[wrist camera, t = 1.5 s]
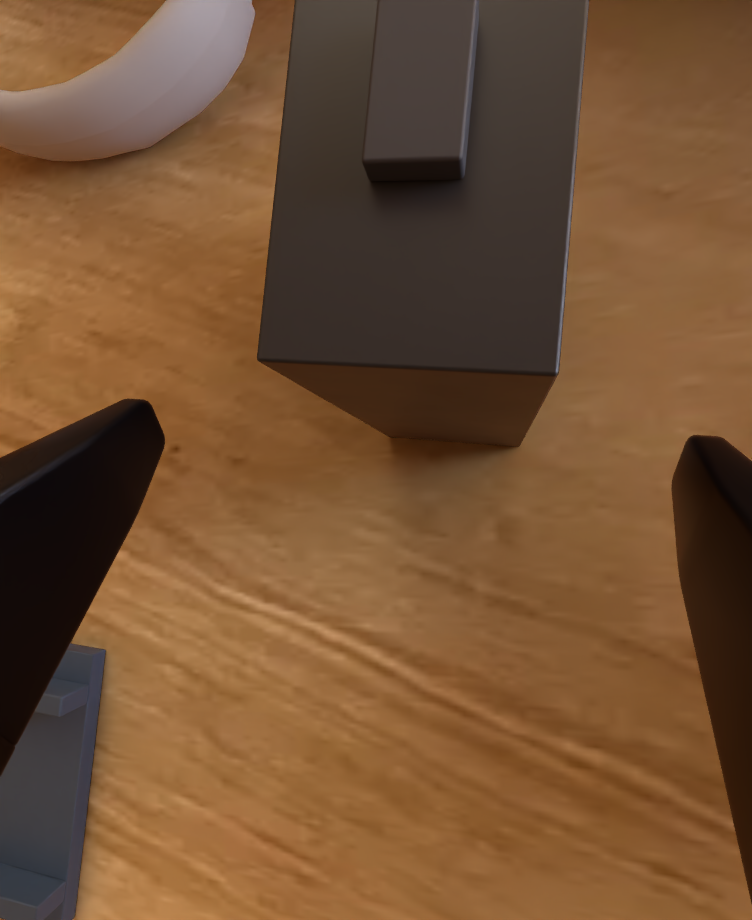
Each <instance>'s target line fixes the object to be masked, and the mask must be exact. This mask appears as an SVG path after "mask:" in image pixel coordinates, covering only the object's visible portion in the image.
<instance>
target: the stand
mask: <svg viewBox="0 0 752 920" xmlns="http://www.w3.org/2000/svg"><path fill="white" fill-rule="evenodd" d="M105 652H106V650H104V649H98V648H93V647H87V646H82V645H76V644H70V645H69V647H68V649H67V650H66V652H65V654H64V656H63V658H62V660H61V662H60V664H59V666H58V668H57V669H56V671H55V673H54V675H53V677H52V679H51V681H50V683H49V685H48V687H47V689H46V690H45V692H44V694H43V696H42V698H41V700H40V702H39V704H38V706H37V708H36V709H35V711H34V713H33V715H32V717H31V719H30V721H29V723H28V725H27V727H26V728H25V730H24V732H23V734H22V736H21V738H20V740H19V742H18V744H17V745H14V746H15V750H14V752H13V754H12V756H11V758H10V760H9V762H8V763H7V765H6V767H5V769H4V771H3V773H2V775H1V777H0V918H1V919H5V920H72V919H73V918H74V917H75V910H76V902H77V893H78V885H79V876H80V867H81V859H82V850H83V842H84V833H85V824H86V816H87V807H88V798H89V790H90V781H91V773H92V764H93V755H94V747H95V738H96V730H97V721H98V712H99V704H100V695H101V687H102V678H103V669H104V661H105Z"/></svg>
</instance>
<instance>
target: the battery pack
mask: <svg viewBox="0 0 752 920" xmlns="http://www.w3.org/2000/svg"><path fill="white" fill-rule="evenodd" d="M588 9H589V0H295V5H294V14H293V24H292V33H291V43H290V52H289V61H288V71H287V80H286V89H285V99H284V108H283V118H282V127H281V136H280V146H279V155H278V165H277V174H276V183H275V193H274V202H273V212H272V221H271V230H270V240H269V249H268V259H267V268H266V277H265V287H264V296H263V306H262V315H261V324H260V334H259V343H258V353H257V360H258V361H259V362H261V363H262V364H264V365H266V366H267V367H269V368H271V369H273V370H274V371H276V372H278V373H280V374H281V375H283V376H285V377H287V378H288V379H290V380H292V381H293V382H295V383H297V384H299V385H300V386H302V387H304V388H306V389H307V390H309V391H311V392H313V393H314V394H316V395H318V396H319V397H321V398H323V399H325V400H326V401H328V402H330V403H332V404H333V405H335V406H337V407H339V408H340V409H342V410H344V411H345V412H347V413H349V414H351V415H352V416H354V417H356V418H358V419H359V420H361V421H363V422H364V423H366V424H368V425H370V426H371V427H373V428H375V429H377V430H378V431H380V432H382V433H384V434H385V435H387V436H389V437H398V438H411V439H424V440H437V441H450V442H463V443H476V444H489V445H502V446H515V447H519V446H520V445H521V443H522V441H523V439H524V437H525V435H526V433H527V431H528V430H529V428H530V426H531V424H532V422H533V420H534V418H535V416H536V415H537V413H538V411H539V409H540V407H541V405H542V403H543V401H544V400H545V398H546V396H547V394H548V392H549V390H550V388H551V387H552V385H553V383H554V381H555V379H556V377H557V375H558V373H559V366H560V353H561V341H562V329H563V316H564V304H565V292H566V279H567V267H568V255H569V243H570V230H571V218H572V206H573V193H574V181H575V169H576V157H577V144H578V132H579V120H580V107H581V95H582V83H583V70H584V58H585V46H586V34H587V21H588Z"/></svg>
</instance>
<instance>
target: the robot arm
mask: <svg viewBox="0 0 752 920" xmlns="http://www.w3.org/2000/svg"><path fill="white" fill-rule="evenodd" d="M164 445H165V437H164V433H163V431H162V428H161V426H160V424H159V421H158V419H157V417H156V414H155V412H154V409H153V407H152V405H151V404H150V403H149V402H148V401H146V400H141V399H123V400H121V401H119V402H117V403H115V404H113V405H111V406H108V407H106V408H104V409H102V410H100V411H98V412H96V413H94V414H92V415H89V416H87V417H85V418H83V419H81V420H79V421H77V422H75V423H73V424H71V425H68V426H66V427H64V428H62V429H60V430H58V431H56V432H54V433H52V434H49V435H47V436H45V437H43V438H41V439H39V440H37V441H35V442H33V443H31V444H28V445H26V446H24V447H22V448H20V449H18V450H16V451H14V452H12V453H9V454H7V455H5V456H3V457H1V458H0V777H1V775H2V773H3V771H4V769H5V767H6V765H7V763H8V762H9V760H10V758H11V756H12V754H13V752H14V750H15V746H14V745H17V744H18V742H19V740H20V738H21V736H22V734H23V732H24V730H25V728H26V727H27V725H28V723H29V721H30V719H31V717H32V715H33V713H34V711H35V709H36V708H37V706H38V704H39V702H40V700H41V698H42V696H43V694H44V692H45V690H46V689H47V687H48V685H49V683H50V681H51V679H52V677H53V675H54V673H55V671H56V669H57V668H58V666H59V664H60V662H61V660H62V658H63V656H64V654H65V652H66V650H67V649H68V647H69V645H70V643H71V641H72V639H73V637H74V635H75V633H76V631H77V630H78V628H79V626H80V624H81V622H82V620H83V618H84V616H85V614H86V612H87V611H88V609H89V607H90V605H91V603H92V601H93V599H94V597H95V595H96V593H97V591H98V590H99V588H100V586H101V584H102V582H103V580H104V578H105V576H106V574H107V572H108V571H109V569H110V567H111V565H112V563H113V561H114V559H115V557H116V555H117V553H118V552H119V550H120V548H121V546H122V544H123V542H124V540H125V538H126V536H127V534H128V533H129V531H130V529H131V527H132V525H133V523H134V521H135V519H136V517H137V514H138V512H139V510H140V507H141V505H142V503H143V500H144V498H145V495H146V492H147V490H148V487H149V485H150V482H151V480H152V477H153V475H154V472H155V470H156V467H157V465H158V462H159V460H160V457H161V454H162V452H163V449H164ZM672 501H673V512H674V524H675V536H676V548H677V560H678V570H679V578H680V583H681V589H682V594H683V598H684V603H685V607H686V612H687V616H688V621H689V625H690V629H691V634H692V638H693V643H694V647H695V652H696V656H697V661H698V665H699V670H700V674H701V679H702V683H703V688H704V692H705V697H706V701H707V706H708V710H709V715H710V719H711V724H712V728H713V733H714V737H715V742H716V746H717V751H718V755H719V760H720V764H721V769H722V773H723V778H724V782H725V787H726V791H727V796H728V800H729V805H730V809H731V814H732V818H733V823H734V827H735V831H736V836H737V840H738V845H739V849H740V854H741V858H742V863H743V867H744V872H745V876H746V881H747V885H748V890H749V894H750V899H751V903H752V461H751V460H750V459H748V458H747V457H746V456H745V455H744V454H742V453H741V452H740V451H739V450H737V449H736V448H735V447H734V446H732V445H731V444H730V443H729V442H727V441H726V440H725V439H723V438H721V437H718V436H703V435H693V436H691V437H689V438H688V440H687V441H686V443H685V446H684V448H683V451H682V454H681V456H680V459H679V462H678V464H677V467H676V470H675V472H674V475H673V479H672Z"/></svg>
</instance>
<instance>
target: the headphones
mask: <svg viewBox="0 0 752 920" xmlns="http://www.w3.org/2000/svg"><path fill="white" fill-rule="evenodd" d="M254 17H255V10H254V8H253V6H252V0H166V1H165V2H164V3H163V5H162V6H161V7H160V8H159V9H158V10H157V11H156V12H155V14H154V15H153V16H152V17H151V18H150V19H149V20H148V21H147V22H146V23H145V24H144V25H143V27H142V28H141V29H140V30H139V31H138V32H137V33H136V34H135V35H134V36H133V37H132V38H131V39H130V40H129V41H128V42H127V43H126V44H125V45H124V46H123V47H122V48H121V49H120V50H119V51H118V52H117V53H116V54H115V55H114V56H112V57H110V58H109V59H107V60H105V61H103V62H102V63H100V64H98V65H96V66H95V67H93V68H91V69H90V70H88V71H86V72H84V73H82V74H80V75H78V76H76V77H74V78H73V79H71V80H69V81H67V82H64V83H60V84H55V85H51V86H47V87H42V88H37V89H32V90H27V91H22V92H21V91H5V90H0V146H1V147H3V148H6V149H8V150H11V151H14V152H16V153H19V154H23V155H28V156H32V157H37V158H41V159H46V160H51V161H83V160H93V159H102V158H107V157H111V156H115V155H119V154H122V153H127V152H131V151H135V150H140V149H144V148H149V147H151V146H153V145H154V144H155V143H157V142H158V141H160V140H161V139H163V138H164V137H166V136H167V135H169V134H170V133H172V132H173V131H175V130H176V129H177V128H179V127H180V126H182V125H183V124H185V123H186V122H188V121H189V120H191V119H192V118H194V117H195V116H197V115H198V114H200V113H201V112H202V111H203V110H204V109H205V108H206V107H207V106H208V105H209V104H210V103H211V102H212V101H213V100H214V99H215V98H216V97H217V96H218V95H219V94H220V93H221V92H222V91H223V90H224V89H225V88H226V86H227V84H228V83H229V81H230V80H231V78H232V76H233V75H234V73H235V72H236V70H237V68H238V67H239V65H240V64H241V62H242V60H243V59H244V55H245V52H246V48H247V44H248V40H249V36H250V33H251V29H252V25H253V21H254Z"/></svg>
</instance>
